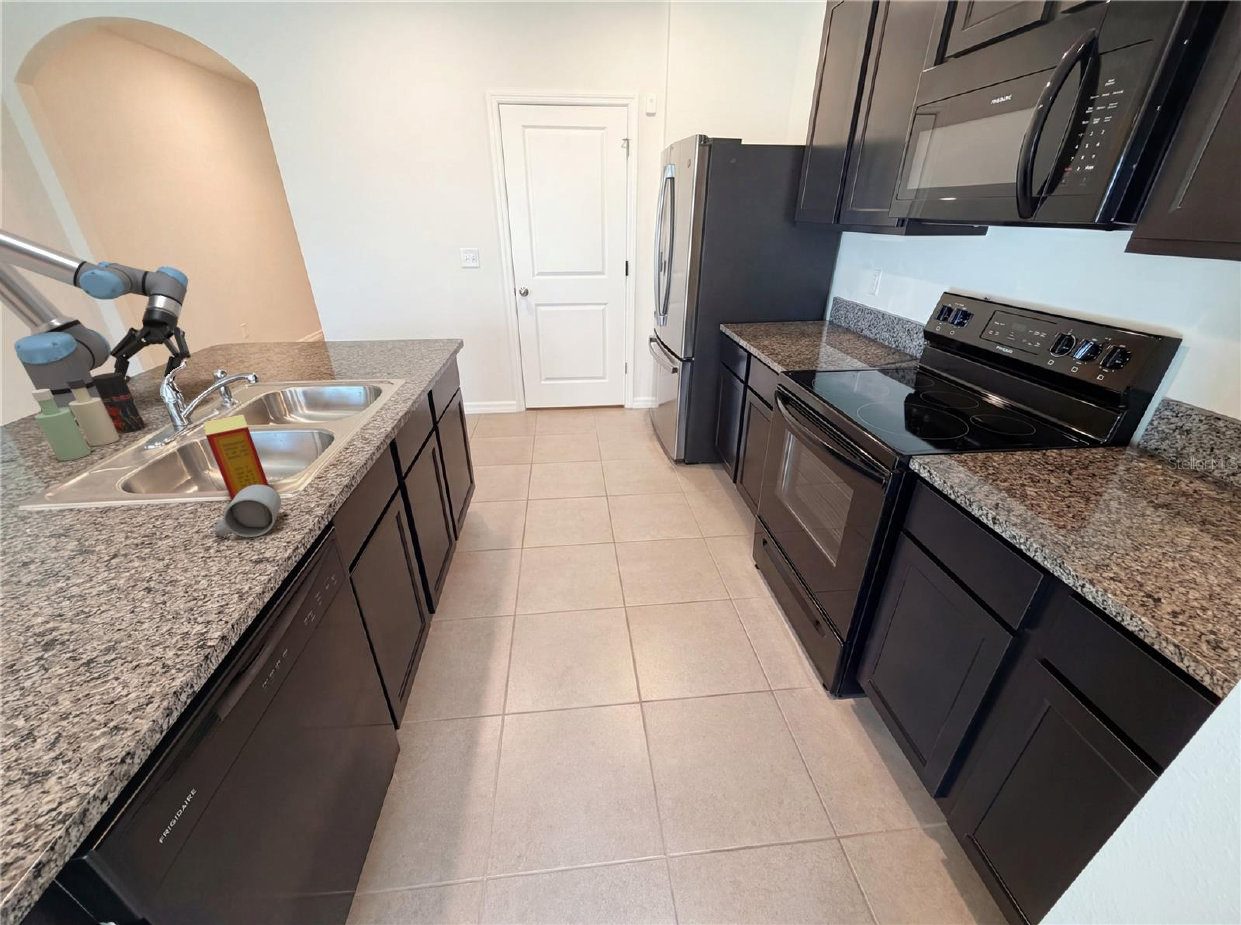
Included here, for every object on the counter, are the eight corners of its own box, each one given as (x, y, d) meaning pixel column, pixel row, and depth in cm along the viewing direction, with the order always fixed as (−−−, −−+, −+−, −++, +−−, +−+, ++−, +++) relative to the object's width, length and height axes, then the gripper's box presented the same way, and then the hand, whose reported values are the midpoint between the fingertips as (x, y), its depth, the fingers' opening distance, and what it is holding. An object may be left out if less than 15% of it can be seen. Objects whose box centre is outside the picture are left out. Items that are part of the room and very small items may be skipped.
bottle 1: (66, 452, 125) (32, 388, 117) (96, 449, 126) (63, 385, 119) (52, 462, 120) (15, 395, 112) (83, 458, 121) (48, 393, 114)
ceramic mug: (287, 510, 99) (274, 476, 96) (280, 532, 92) (266, 495, 89) (223, 523, 95) (207, 487, 92) (211, 546, 89) (193, 509, 85)
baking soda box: (231, 490, 107) (202, 419, 100) (267, 481, 110) (242, 412, 103) (234, 508, 100) (205, 433, 93) (273, 497, 104) (247, 425, 97)
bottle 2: (96, 438, 132) (66, 377, 125) (124, 435, 134) (95, 375, 127) (84, 447, 127) (51, 384, 120) (112, 444, 129) (82, 381, 122)
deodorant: (149, 427, 139) (125, 374, 133) (122, 434, 135) (96, 380, 128) (140, 423, 142) (116, 371, 136) (113, 430, 138) (87, 376, 131)
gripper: (214, 322, 154) (199, 384, 148) (128, 323, 153) (108, 386, 146) (196, 307, 147) (179, 371, 140) (105, 308, 146) (84, 373, 139)
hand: (143, 379), depth 143 cm, fingers open, 13 cm apart
